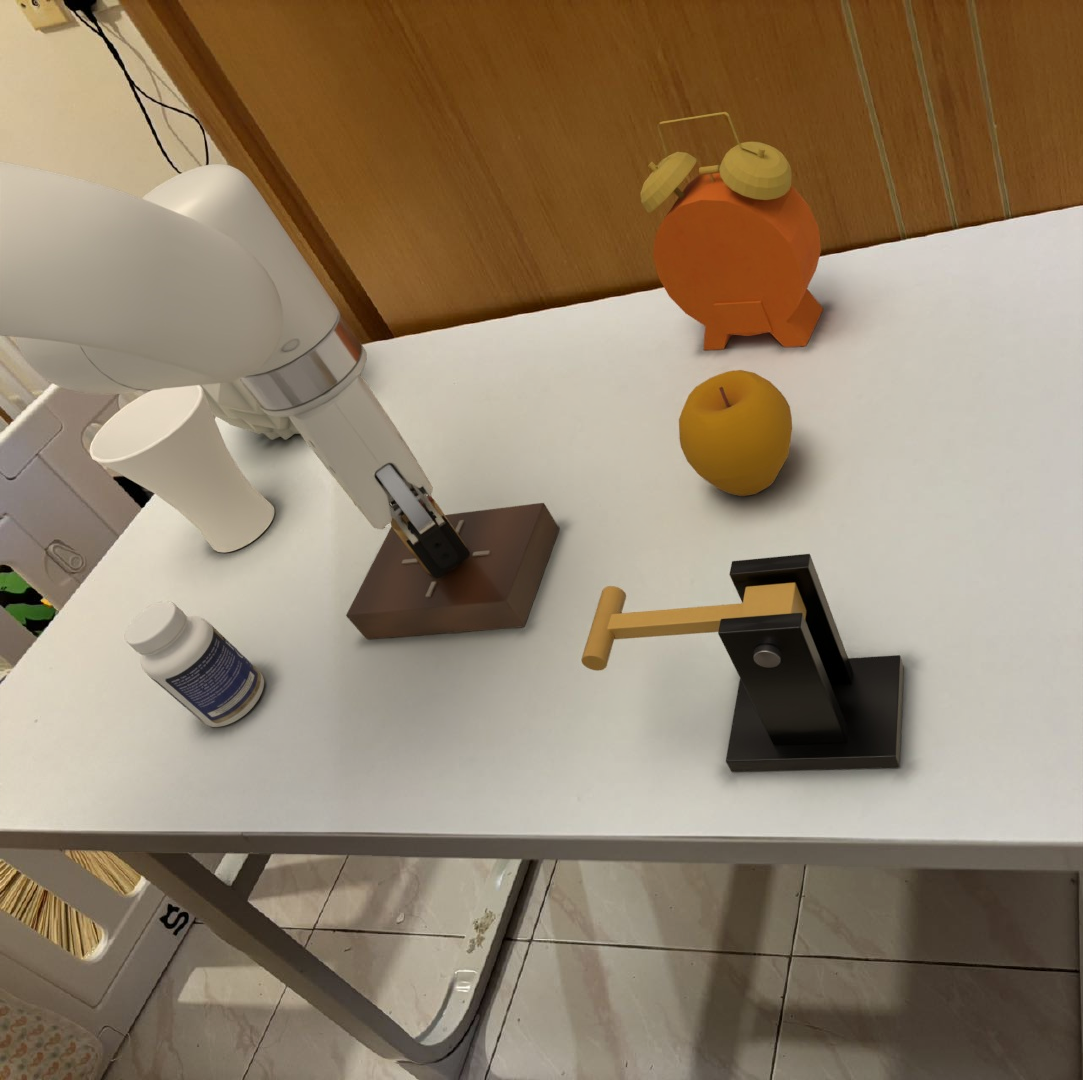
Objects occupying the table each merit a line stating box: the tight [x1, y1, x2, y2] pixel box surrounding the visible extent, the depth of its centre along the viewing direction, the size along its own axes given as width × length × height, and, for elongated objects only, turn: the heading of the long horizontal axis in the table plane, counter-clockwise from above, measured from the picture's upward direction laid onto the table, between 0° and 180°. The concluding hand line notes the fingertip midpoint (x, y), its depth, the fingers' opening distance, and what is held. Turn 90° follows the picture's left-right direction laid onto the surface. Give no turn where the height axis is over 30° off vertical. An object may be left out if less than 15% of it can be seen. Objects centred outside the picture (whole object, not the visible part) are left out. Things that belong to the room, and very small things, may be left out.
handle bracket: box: [717, 553, 905, 773], centre depth 57 cm, size 10×7×12 cm
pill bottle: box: [124, 600, 265, 728], centre depth 75 cm, size 5×5×10 cm
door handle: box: [581, 583, 806, 672], centre depth 56 cm, size 12×5×2 cm, turn 81°
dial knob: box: [390, 495, 467, 574], centre depth 76 cm, size 4×4×5 cm
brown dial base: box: [345, 502, 560, 640], centre depth 79 cm, size 14×10×3 cm
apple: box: [678, 369, 793, 497], centre depth 75 cm, size 8×8×9 cm
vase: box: [200, 379, 301, 441], centre depth 101 cm, size 16×16×18 cm
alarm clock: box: [639, 111, 824, 351], centre depth 85 cm, size 13×6×20 cm, turn 69°
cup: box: [89, 385, 276, 553], centre depth 91 cm, size 10×10×14 cm
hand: (440, 550), depth 77 cm, fingers closed on dial knob, 3 cm apart
